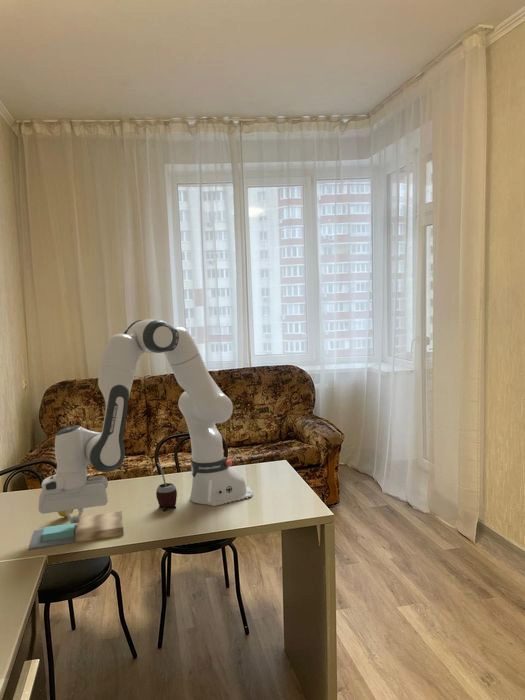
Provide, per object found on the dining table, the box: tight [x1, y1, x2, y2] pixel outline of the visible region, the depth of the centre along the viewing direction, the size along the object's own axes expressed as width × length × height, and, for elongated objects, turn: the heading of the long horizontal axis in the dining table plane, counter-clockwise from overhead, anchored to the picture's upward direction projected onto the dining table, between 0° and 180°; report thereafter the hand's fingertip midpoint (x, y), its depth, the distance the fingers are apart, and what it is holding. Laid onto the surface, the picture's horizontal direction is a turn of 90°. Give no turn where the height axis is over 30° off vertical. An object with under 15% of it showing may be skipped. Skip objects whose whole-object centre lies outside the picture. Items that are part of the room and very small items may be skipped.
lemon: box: [57, 509, 75, 519], centre depth 181 cm, size 6×6×8 cm
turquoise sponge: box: [42, 523, 76, 541], centre depth 167 cm, size 9×6×2 cm, turn 106°
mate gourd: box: [155, 461, 178, 512], centre depth 186 cm, size 8×8×15 cm
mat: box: [28, 523, 76, 550], centre depth 166 cm, size 13×14×1 cm
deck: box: [75, 510, 125, 543], centre depth 170 cm, size 14×14×2 cm
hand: (75, 522), depth 168 cm, fingers closed
